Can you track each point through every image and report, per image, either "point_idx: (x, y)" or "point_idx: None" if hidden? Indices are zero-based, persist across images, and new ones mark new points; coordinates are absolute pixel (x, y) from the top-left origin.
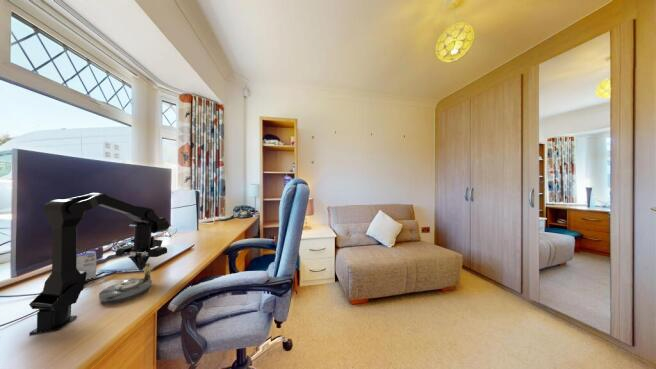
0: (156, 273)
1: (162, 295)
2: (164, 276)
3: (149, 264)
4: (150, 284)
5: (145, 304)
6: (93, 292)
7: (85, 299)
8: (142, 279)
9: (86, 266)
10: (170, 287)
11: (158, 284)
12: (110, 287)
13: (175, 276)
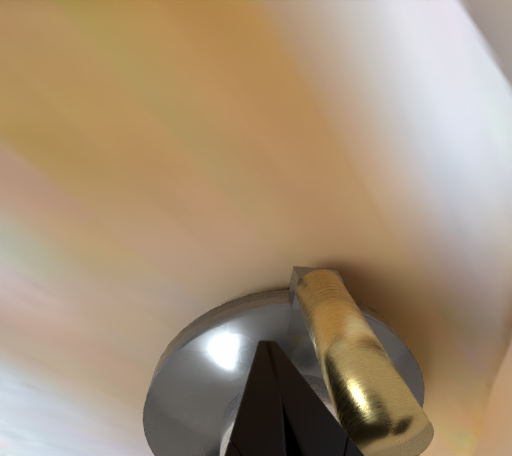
0: (214, 3)
1: (490, 380)
2: (366, 109)
3: (427, 440)
4: (421, 381)
5: (444, 437)
6: (20, 361)
7: (84, 418)
8: (305, 327)
9: None
10: (504, 306)
11: (399, 267)
12: (165, 430)
13: (479, 117)
